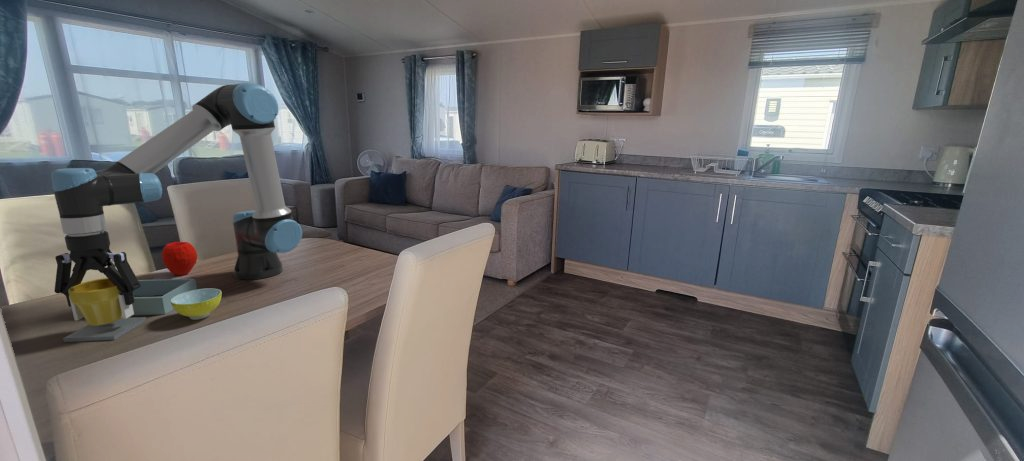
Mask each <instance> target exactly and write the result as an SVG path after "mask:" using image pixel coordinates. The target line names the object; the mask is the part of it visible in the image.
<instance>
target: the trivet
mask: <svg viewBox="0 0 1024 461" xmlns="http://www.w3.org/2000/svg"><path fill="white" fill-rule="evenodd" d="M146 321H147V317H146V316H141V317H140V316H138V317H128V318H126V319H123V317H122V318H121V319H119V320H117V321H115V322H112V323H109V324H104V325H98V326H92V325H88V324H87V325H86V326H84V327H81V328H79V329H78V330H75V331H74V332H72V333H70V334H68V335H66V336H64V337H63V338H62V339H63V343H74V342H75V343H76V342H99V341H100V342H101V341H115V340H117V339H119V338H120V337H122V336H123V335H125V334H127V333H129V332H130V331H132V330H134V328H137V327H138V326H140V325H142V324H143V323H145V322H146Z"/></svg>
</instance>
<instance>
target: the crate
mask: <svg viewBox="0 0 1024 461" xmlns="http://www.w3.org/2000/svg"><path fill="white" fill-rule="evenodd" d="M137 280H138V281H139V283H140V285H141V287H140V288H138V289H136V290H134V291H133V296H134V303H133V304H132V306H133V311H134V314H133V315H132V316H153V315H166V314H168V313H170V312H172V310H175V309H174V308H173V307H172V305H171V299H172V298H173V297H175V296H177V295H179V294H181V293H185V292H188V291H192V290H198V288H197V282H196V281H197V280H196V278H178V279H177V278H173V279H172V278H171V279H168V278H167V279H166V278H165V279H137ZM154 295H163V296H154Z"/></svg>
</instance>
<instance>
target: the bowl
mask: <svg viewBox="0 0 1024 461" xmlns="http://www.w3.org/2000/svg"><path fill="white" fill-rule="evenodd" d="M222 295H223V293H222V290H221V289H218V288H210V287H209V288H207V287H206V288H197V290H192V291H188V292H185V293H181V294H179V295H177V296H175V297H173V298H172V299H171V305H172V307H173V308H174V309H173V310H174V311H176V312H177V313H178V314H179V315H182V316H185V317H189V319H190V320H193V321H194V320H195V321H196V320H197V321H198V320H201V319H206V318H207V317H210V316H211V312H213V311H214V310H215V309H216V308H217V307H218V306H219V305H220V303H221V300H222Z"/></svg>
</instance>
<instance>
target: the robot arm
mask: <svg viewBox="0 0 1024 461" xmlns="http://www.w3.org/2000/svg"><path fill="white" fill-rule="evenodd" d="M191 108H192V110H191V111H190V112H188V113H187V114H185V115H184V116H182V117H180V118H179V119H178V120H176V121H175V122H173V123H171V124H170V125H169V126H167V127H166V128H164V129H163V130H162V131H160V132H159V133H157V134H156V135H154V136H153V137H151V138H150V139H148V140H146V142H143V143H142V144H141V145H140V146H138V147H137V148H135V149H133V150H132V151H131V152H129V153H128V154H126V155H125V156H123V157H122V158H120V159H119V160H117V161H116V162H114V163H112V164H111V165H110V166H108V167H107V168H104V169H100V170H95V169H94V168H92V167H78V168H77V167H73V168H71V167H69V168H67V167H66V168H58V169H54V170H53V171H52V172H51V174H50V177H51V184H52V191H53V193H54V199H55V202H56V205H57V210H58V213H59V214H58V215H59V218H60V220H59V221H60V225H61V229H62V233H63V234H64V235H65V236H64V241H65V246H66V249H67V250H68V251H69V252H70V253H68V252H65V253H61V254H59V255H56V256H55V257H54V258H55V261H56V264H57V266H56V275H55V281H54V282H55V283H54V289H53V290H54V293H55V294H63V295H64V296H66V298H65V299H66V302H67V305H68V307H69V308H71V311H72V316H73V319H74V321H80V320H82V319H83V318H84V317H83V315H82V313H81V312H80V310H79V308H78V307H77V305H76V304H73V303H72V302H71V299H70V296H69V292H68V290H69V288H71V287H74V286H76V285H79V284H81V283H83V279H84V277H85V276H86V274H87V271H90V270H91V271H92V270H93V271H98V272H100V273H101V274H104V276H105V278H108V279H109V280H110V281H111V282H112V283H113V284H114V285H115V286H117V289H118V290H119V291H120V292H121V293H120V294H118V298H119V302H120V307H121V312H122V318H123V319H126V318H131V317H132V316H134V315H133V314H134V311H133V306H132V304H133V303H134V297H135V296H133V291H134V290H136V289H138V288H140V287H141V285H140V283H139V281H138V280H139V279H138V278H137V276H136V274H135V272H134V271H133V269H132V267H131V265H130V264H129V261H128V259H127V252H125V251H121V252H119V253H117V252H112V251H111V249H110V246H111V241H110V236H109V232H108V231H106V230H107V222H106V218H105V211H104V207H108V206H109V207H110V206H115V205H129V204H137V203H139V204H141V203H144V204H145V203H148V202H154V201H159V200H160V199H161V198H162V195H163V187H162V183H161V180H160V179H159V177H158V175H157V174H156V173H157V172H159V171H160V170H162V169H163V168H164V167H166V166H167V165H169V163H171V162H173V161H174V160H175V159H177V158H178V157H180V156H182V154H184V153H185V152H186V151H188V150H190V149H191V148H192V147H193V146H195V145H197V143H199V142H200V141H202V140H203V139H205V138H206V137H207V136H208V135H210V134H211V133H213V132H220V131H222V130H223V129H224V128H226V127H228V126H231V128H232V131H233V132H234V133H235V134H236V135H238V136H239V139H240V144H241V149H242V152H243V157H244V161H245V166H246V170H247V175H248V179H249V184H250V188H251V193H252V198H253V202H254V206H255V210H253V209H252V210H247V211H239V212H236V213H234V214H233V215H232V221H233V222H232V225H233V229H234V230H233V231H234V237H235V245H236V251H237V257H236V261H235V265H234V268H233V274H234V277H235V278H236V279H239V280H246V281H247V280H248V281H249V280H259V279H266V278H270V277H274V276H277V275H279V274H281V273H283V271H284V266H283V263H282V261H281V259H280V256H279V255H278V253H279V254H286V253H289V252H291V251H293V250H294V249H296V248H297V247H298V245H299V244H300V243H301V240H302V238H303V228H302V226H301V225H300V224H299V223H298V222H297V221H296V220H294V217H293V211H292V209H290V208H289V207H287V206H286V202H285V198H284V193H283V188H282V182H281V178H280V174H279V169H278V162H277V158H276V153H275V147H274V142H273V138H272V133H273V132H274V130H275V129H276V125H275V120H276V117H277V116H278V114H279V103H278V100H277V98H276V97H275V94H274V93H272V92H271V91H270V90H269V89H268V88H266V87H265V86H263V85H260V84H257V83H251V82H250V83H249V82H246V83H235V84H225V85H221V86H219V87H218V88H216V89H214V90H212V91H211V92H210V93H208V94H207V95H206V96H204V97H203V98H201V99H200V100H198V101H197V102H196V103H194V104H193V105H192V107H191ZM72 262H73V263H74V266H73V265H72V264H73V263H72ZM72 266H73V268H72ZM84 319H85V318H84Z"/></svg>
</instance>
